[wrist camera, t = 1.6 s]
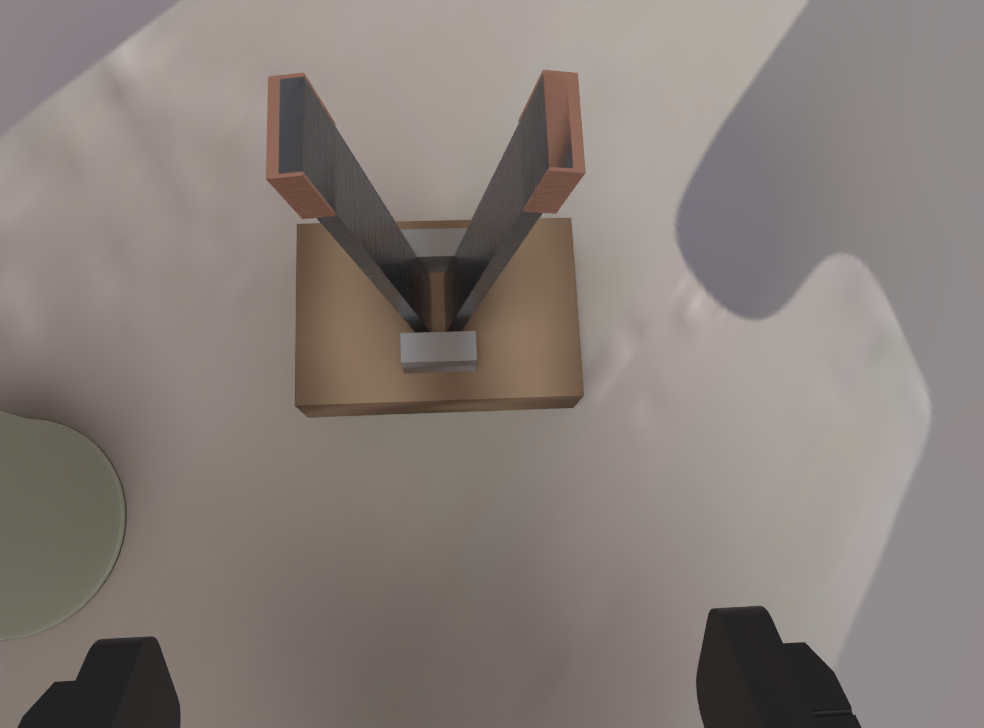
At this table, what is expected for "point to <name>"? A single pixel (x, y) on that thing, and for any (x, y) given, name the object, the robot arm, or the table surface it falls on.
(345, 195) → the bar
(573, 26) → the table surface
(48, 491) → the can
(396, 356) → the stand
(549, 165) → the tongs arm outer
